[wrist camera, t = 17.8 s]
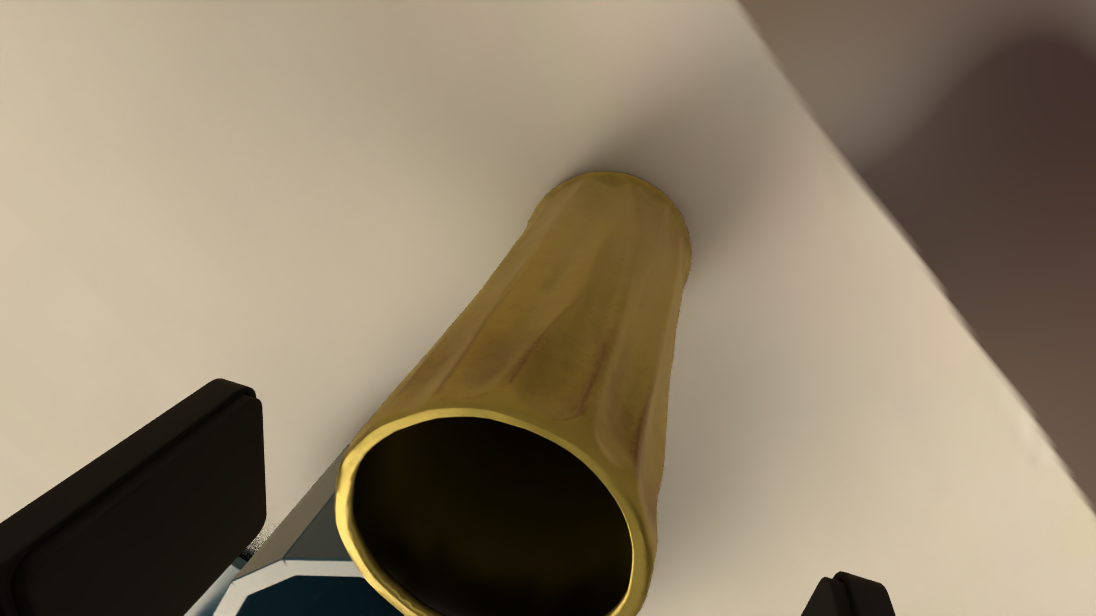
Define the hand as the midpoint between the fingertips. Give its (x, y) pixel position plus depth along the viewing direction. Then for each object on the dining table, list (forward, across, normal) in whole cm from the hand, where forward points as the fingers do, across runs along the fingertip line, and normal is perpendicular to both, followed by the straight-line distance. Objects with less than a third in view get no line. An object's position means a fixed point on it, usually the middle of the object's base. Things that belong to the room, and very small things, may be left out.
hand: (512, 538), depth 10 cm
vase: (+14, +1, 0) cm, 14 cm away
